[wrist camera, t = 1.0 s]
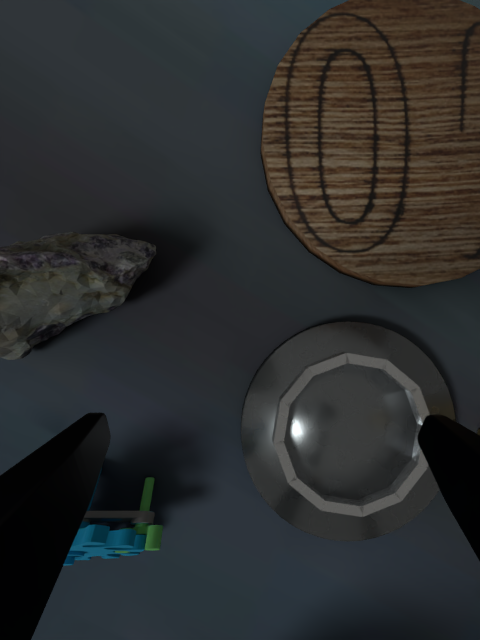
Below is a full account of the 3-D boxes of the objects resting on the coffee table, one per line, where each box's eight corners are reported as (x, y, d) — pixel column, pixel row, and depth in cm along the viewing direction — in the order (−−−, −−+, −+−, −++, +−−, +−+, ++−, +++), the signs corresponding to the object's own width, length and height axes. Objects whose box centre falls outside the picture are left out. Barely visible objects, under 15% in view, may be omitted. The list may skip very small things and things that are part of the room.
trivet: (519, 11, 25) (543, -15, 23) (541, 280, 24) (568, 276, 23) (251, 17, 24) (252, -10, 22) (269, 296, 24) (272, 294, 22)
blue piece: (9, 572, 20) (-67, 559, 14) (46, 484, 25) (2, 440, 18) (158, 567, 22) (158, 553, 15) (169, 485, 27) (172, 447, 20)
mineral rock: (166, 248, 23) (117, 188, 13) (149, 372, 23) (84, 410, 13) (14, 226, 23) (-159, 147, 13) (-6, 353, 22) (-199, 375, 12)
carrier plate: (429, 545, 23) (446, 564, 21) (224, 515, 23) (223, 531, 21) (460, 340, 24) (479, 341, 22) (259, 305, 23) (262, 303, 21)
